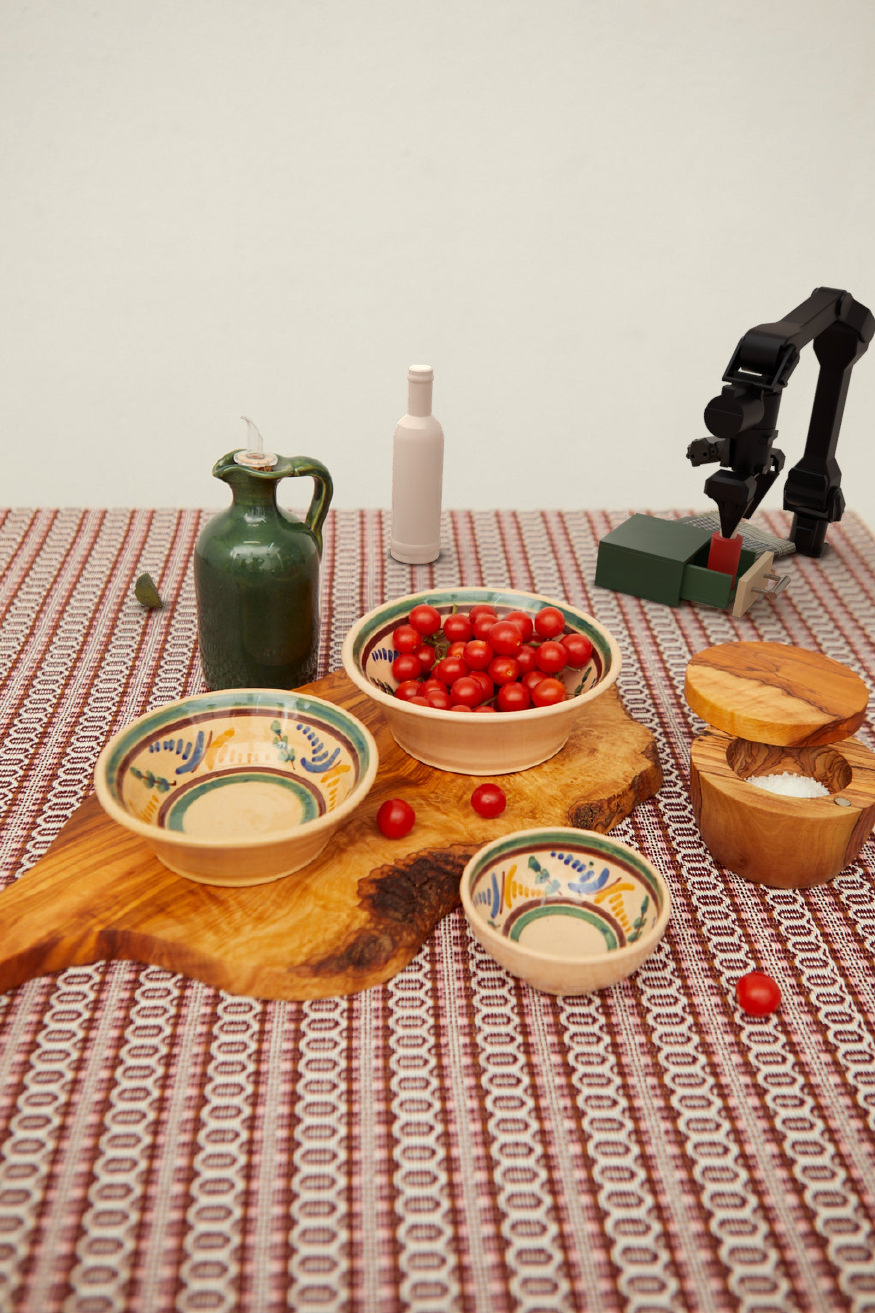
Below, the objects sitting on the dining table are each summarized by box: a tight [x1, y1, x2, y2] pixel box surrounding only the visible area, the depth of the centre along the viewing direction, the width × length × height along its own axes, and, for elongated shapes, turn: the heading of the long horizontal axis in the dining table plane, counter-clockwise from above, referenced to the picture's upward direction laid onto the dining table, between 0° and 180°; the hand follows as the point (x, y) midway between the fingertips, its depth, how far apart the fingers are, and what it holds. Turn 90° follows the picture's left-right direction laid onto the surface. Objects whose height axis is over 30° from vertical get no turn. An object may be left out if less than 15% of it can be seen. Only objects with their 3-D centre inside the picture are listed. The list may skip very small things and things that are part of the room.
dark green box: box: [593, 512, 715, 609], centre depth 168 cm, size 13×14×7 cm
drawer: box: [680, 540, 792, 618], centre depth 163 cm, size 16×13×6 cm
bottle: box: [389, 363, 445, 565], centre depth 168 cm, size 8×8×30 cm
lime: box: [133, 572, 164, 609], centre depth 154 cm, size 4×5×5 cm
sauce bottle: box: [707, 526, 743, 590], centre depth 162 cm, size 4×4×10 cm
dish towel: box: [668, 510, 796, 562], centre depth 183 cm, size 19×18×3 cm
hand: (736, 528), depth 160 cm, fingers open, 9 cm apart
